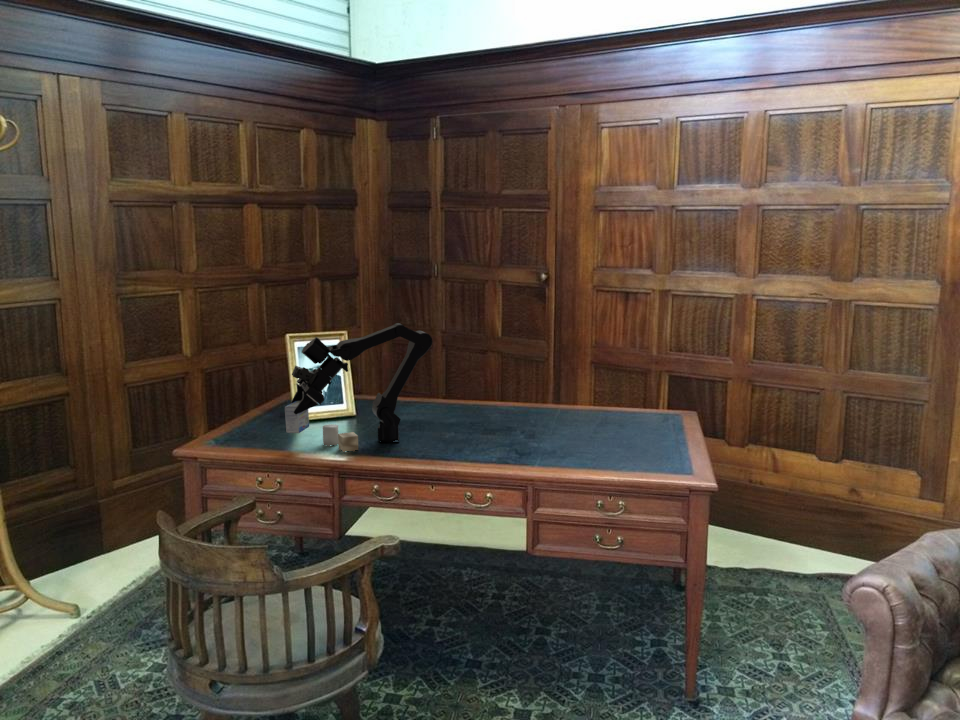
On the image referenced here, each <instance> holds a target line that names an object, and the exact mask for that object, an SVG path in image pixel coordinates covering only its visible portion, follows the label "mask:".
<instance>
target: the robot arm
mask: <svg viewBox="0 0 960 720" xmlns="http://www.w3.org/2000/svg"><path fill="white" fill-rule="evenodd" d="M400 337H401V338H403V339H404V340H407V341H408V344H407V350H406V354H405V355H404V357H403V359H402V361H401V363H400V365H399V366H398V368H397V370H396V372H395V374H394V376H393V377H392V379H391V381H390V383H389V384H388V386H387V388H386V390H385V391H384V392H383V393H382V394H381V393H380V392H377V394H376V395H375V396H376V397H375V399H374V400H373V401H372V402H371V404H372V405H371V406H372V407H371V408H372V409H371V410H372V413H373V415H375V416H376V418H378V420H379V422H378V423H379V425H378V426H377V440H378V441H379V442H380V441H381V442H393V441H395V440H399V441H400V434H399V431H400V430H399V425H400V423H401V418H400V417H399V416H398V415H397V413H395V411H396V407H397V404H398V398H399V396H400V394H401V392H402V390H403V388H404V387H405V385H406V383H407V381H408V380H409V378H410V376H411V374H412V372H413V370H414V369H415V366H416V364H417V363H418V361H419V360H421V358H422V357H423V356H424V355H426V354H427V352H428V351H429V349H431V347H432V346H433V343H434V341H433V338H432V336H431V335H430V334H429V333H427V332H425V331H422V330H413V329H411V328H409V327H406V326H405V325H404V324H401V323H399V322H397V323H394V324H393V325H390V326H388V327H385V328H383V329H380V330H378V331H375V332H373V333H370V334H367V335H365V336H362V337H355V338H348V339H344V340H341V341H338V343H337V344H334V345H329V346H327V345H326V344H324V343H323V342H322V340H321V339H320V338H318V337H317V336H315V337H314V338H313V339H311V340H310V341H309V342H307V343H306V344H305V346H304V347H303V348H302V350H301V354H303V355H304V356H305V357H306V358H307V359H308V360H310V361H311V362H312V363H313V364H320V365H319V367H317V368H313V369H312V370H309V368H306V367H305V366H304V367H301V366H298V365H295V366H294V369H293V371H292V373H291V376H292V377H293V378H295V379H297V380H296V383H295V385H296V392H295V394H294V396H293V398H292V400H291V401H290V403H289V404H291V403H293V402H295V401H300V403H299V404H298V406H297V407H296V409H295V410H294V413H295V414H298V413H301V412H303V411H305V410H307V409H308V410H309V409H311V408H313V407H317V406H319V405H320V406H321V405H322V404H323V402H324V401H325V395H324V394H323V393H324V392H323V390H324V389H326V387H327V386H331V384H332V380H333V379H335V377H336V376H337V375H338V374H339V372H340V371H341V370H343V371H345V372H346V373H348V372H349V368H348V366H349V363H348V361H351V360H353V359H356V358H357V357H358V356H360V355H361V354H363V353H364V352H365V351H367V350H370V349H371V348H375V347H377V346H379V345H382V344H384V343H387V342H389V341H392V340H394V339H398V338H400ZM329 353H330V354H331V355H332V356H334V358H333V357H332V356H331V355H330V354H329ZM339 357H340V358H339ZM342 360H344V361H346V362H343V361H342Z"/></svg>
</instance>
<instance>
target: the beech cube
mask: <svg viewBox="0 0 960 720" xmlns="http://www.w3.org/2000/svg"><path fill="white" fill-rule="evenodd" d="M337 446H338V449H339V450H340V449H341V450H342V451H343V452H345V451H353V452H356V451H355V450H358V451H359V435H358V434H356V433H355V432H354V431H351V432H342V433H341V432H340V433H338V445H337ZM341 450H340V451H341ZM342 451H341V452H342ZM343 452H342V453H343ZM345 453H346V452H345Z"/></svg>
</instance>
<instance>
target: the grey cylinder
mask: <svg viewBox="0 0 960 720" xmlns="http://www.w3.org/2000/svg"><path fill="white" fill-rule="evenodd" d="M338 434H339V425H338V424H334V423H333V424H331V423H330V424H323V426H322V442H323V443H322V444H324V445H327V446H326V447H331V446H330V445H336V446H338V445H337V444H338ZM324 445H323V446H324Z"/></svg>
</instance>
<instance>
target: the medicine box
mask: <svg viewBox="0 0 960 720" xmlns="http://www.w3.org/2000/svg"><path fill="white" fill-rule="evenodd" d="M290 403H291V402H290ZM290 403H289V404H287V405H286V406H284V416H285V417H284V418H285V429H286V431H285V432H286V433H288V434H300V433H301V432H303V431H305V430H306V429H309V428H310V415H309V414H310V413H309V409H307V410H305V411H303V412H301V413H298V414H295V413H294V410H295V409H296V407H297V406H298V404H299V403H300V401H295V402H293V403H291V404H290Z"/></svg>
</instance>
